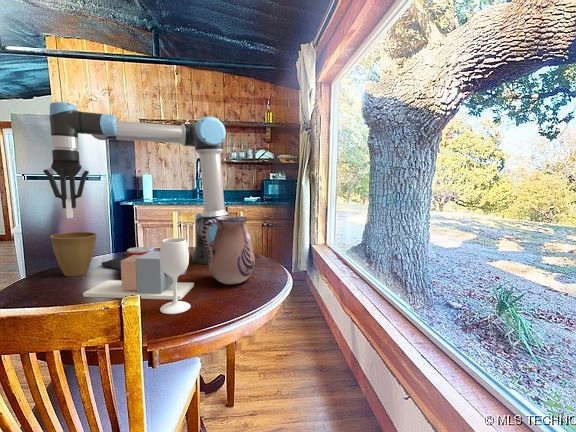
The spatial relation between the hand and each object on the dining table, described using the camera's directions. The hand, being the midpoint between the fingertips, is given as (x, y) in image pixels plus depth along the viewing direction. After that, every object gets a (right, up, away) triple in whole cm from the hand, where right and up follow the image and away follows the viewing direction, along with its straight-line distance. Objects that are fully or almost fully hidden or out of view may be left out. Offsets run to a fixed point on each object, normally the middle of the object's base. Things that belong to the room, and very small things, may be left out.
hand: (70, 217), depth 106 cm
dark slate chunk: (+4, -22, +32) cm, 39 cm away
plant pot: (-8, -23, +14) cm, 28 cm away
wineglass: (+43, -28, -15) cm, 54 cm away
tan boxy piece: (+32, -24, -3) cm, 40 cm away
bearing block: (+28, -26, -2) cm, 38 cm away
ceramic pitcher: (+55, -25, +9) cm, 61 cm away
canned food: (+18, -24, +14) cm, 33 cm away
